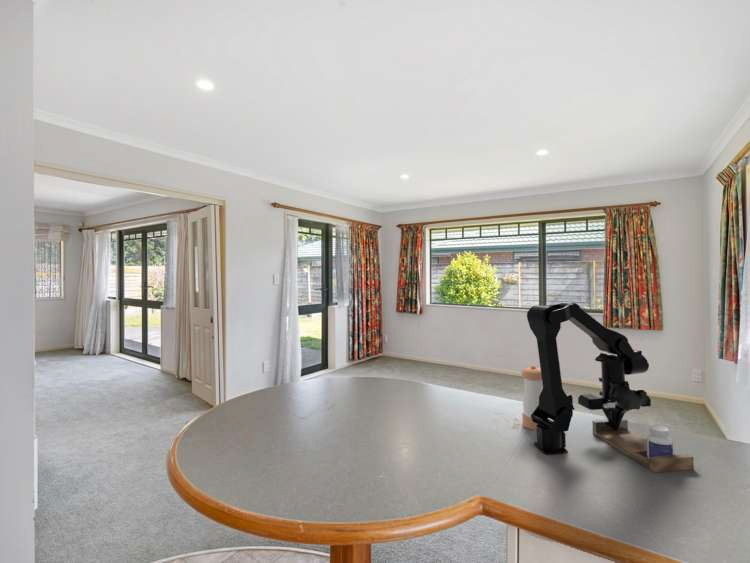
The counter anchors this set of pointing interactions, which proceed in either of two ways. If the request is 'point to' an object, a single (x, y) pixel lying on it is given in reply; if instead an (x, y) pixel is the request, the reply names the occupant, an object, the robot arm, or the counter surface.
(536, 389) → the pepper shaker
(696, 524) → the counter surface
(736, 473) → the counter surface
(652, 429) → the pill bottle
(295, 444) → the counter surface
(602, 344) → the robot arm
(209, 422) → the counter surface
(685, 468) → the brown long shallow piece
